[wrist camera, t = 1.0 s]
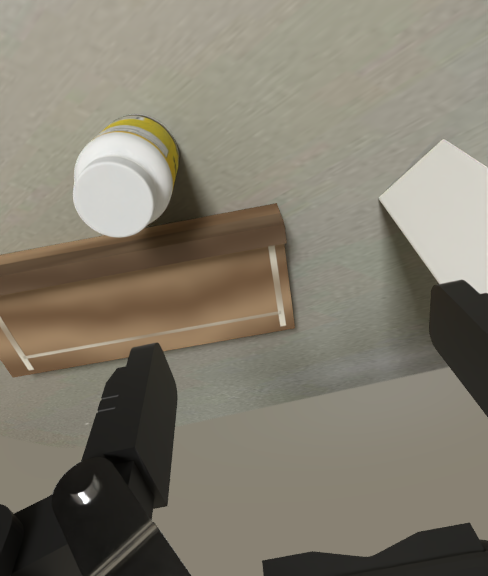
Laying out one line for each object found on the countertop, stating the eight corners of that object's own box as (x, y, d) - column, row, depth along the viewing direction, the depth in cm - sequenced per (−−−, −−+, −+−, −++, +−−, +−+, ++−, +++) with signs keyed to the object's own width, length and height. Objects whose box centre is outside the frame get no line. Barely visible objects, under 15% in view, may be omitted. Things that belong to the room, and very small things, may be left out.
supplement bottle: (156, 204, 30) (134, 267, 22) (89, 162, 28) (37, 214, 20) (195, 145, 28) (187, 190, 20) (125, 94, 26) (84, 121, 18)
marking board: (-44, 263, 31) (-75, 290, 28) (276, 203, 30) (284, 223, 27) (21, 362, 37) (2, 394, 34) (291, 314, 36) (299, 343, 33)
